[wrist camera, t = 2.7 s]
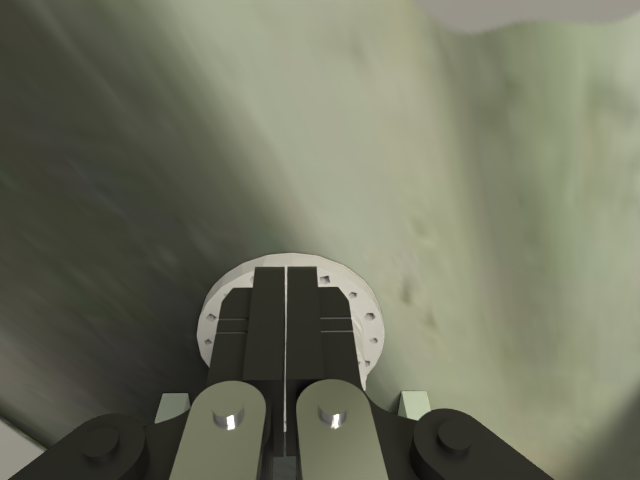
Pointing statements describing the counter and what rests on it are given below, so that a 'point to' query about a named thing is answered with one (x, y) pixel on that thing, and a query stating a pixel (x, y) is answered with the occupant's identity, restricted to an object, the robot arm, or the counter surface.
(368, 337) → the mechanical component
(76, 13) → the counter surface
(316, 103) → the counter surface
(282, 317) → the robot arm
